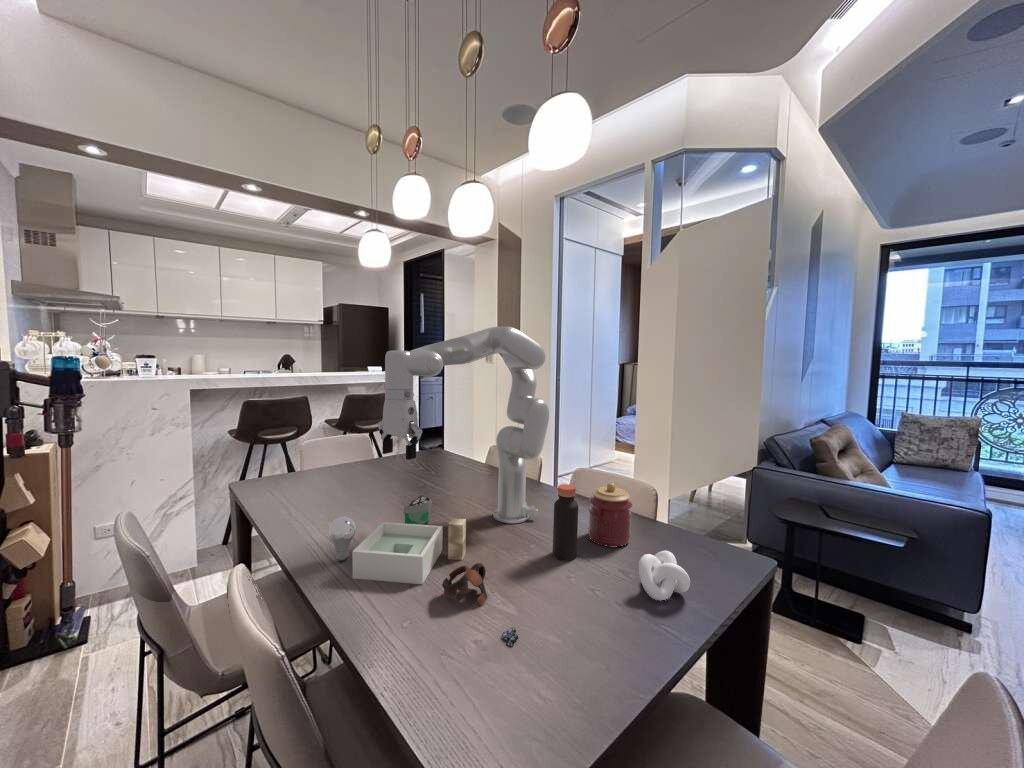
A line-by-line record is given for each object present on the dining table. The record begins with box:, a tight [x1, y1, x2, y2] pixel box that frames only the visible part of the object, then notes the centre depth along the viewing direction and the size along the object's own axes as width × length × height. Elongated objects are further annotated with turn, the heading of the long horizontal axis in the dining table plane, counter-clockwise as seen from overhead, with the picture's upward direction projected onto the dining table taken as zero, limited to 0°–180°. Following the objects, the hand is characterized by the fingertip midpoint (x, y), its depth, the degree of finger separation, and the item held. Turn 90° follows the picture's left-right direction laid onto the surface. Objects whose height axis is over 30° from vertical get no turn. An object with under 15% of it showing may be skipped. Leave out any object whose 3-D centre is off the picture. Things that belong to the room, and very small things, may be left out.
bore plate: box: [369, 534, 432, 555], centre depth 112 cm, size 16×16×3 cm
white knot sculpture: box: [638, 550, 691, 602], centre depth 102 cm, size 11×12×9 cm
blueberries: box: [501, 626, 519, 648], centre depth 84 cm, size 7×8×2 cm
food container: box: [403, 493, 433, 525], centre depth 132 cm, size 12×6×10 cm, turn 168°
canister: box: [587, 482, 633, 546], centre depth 129 cm, size 13×13×18 cm
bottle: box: [552, 483, 579, 561], centre depth 118 cm, size 7×7×20 cm
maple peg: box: [447, 517, 467, 561], centre depth 116 cm, size 4×4×10 cm
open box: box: [351, 521, 444, 585], centre depth 112 cm, size 18×18×7 cm
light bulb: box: [327, 516, 357, 562], centre depth 113 cm, size 7×7×12 cm
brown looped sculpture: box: [442, 562, 488, 608], centre depth 98 cm, size 12×10×8 cm
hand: (399, 455), depth 117 cm, fingers open, 9 cm apart
